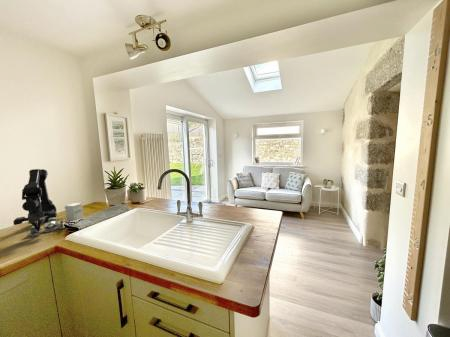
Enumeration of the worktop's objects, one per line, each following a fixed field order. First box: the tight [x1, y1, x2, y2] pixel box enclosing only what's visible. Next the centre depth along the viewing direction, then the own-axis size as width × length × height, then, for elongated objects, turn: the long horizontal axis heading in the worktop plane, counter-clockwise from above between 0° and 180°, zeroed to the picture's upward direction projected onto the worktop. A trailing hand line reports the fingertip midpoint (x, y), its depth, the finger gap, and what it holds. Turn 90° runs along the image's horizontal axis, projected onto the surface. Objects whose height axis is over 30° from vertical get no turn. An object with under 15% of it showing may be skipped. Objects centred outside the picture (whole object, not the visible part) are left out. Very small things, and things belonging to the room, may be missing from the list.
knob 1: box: [29, 226, 45, 233], centre depth 123 cm, size 8×4×3 cm, turn 84°
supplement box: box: [64, 202, 85, 222], centre depth 143 cm, size 7×7×13 cm
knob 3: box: [59, 219, 69, 228], centre depth 131 cm, size 8×4×3 cm, turn 37°
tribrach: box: [27, 221, 68, 238], centre depth 133 cm, size 19×22×5 cm
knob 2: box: [48, 216, 64, 222], centre depth 139 cm, size 8×4×3 cm, turn 127°
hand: (38, 231), depth 121 cm, fingers closed
